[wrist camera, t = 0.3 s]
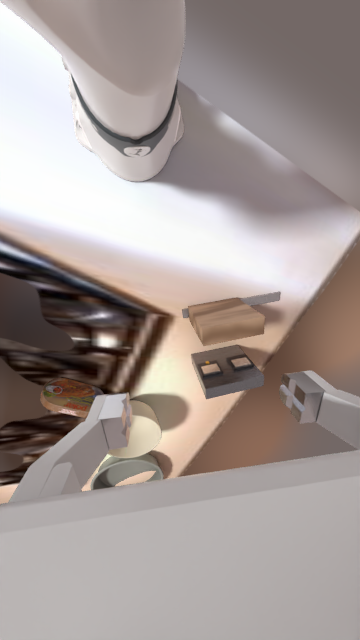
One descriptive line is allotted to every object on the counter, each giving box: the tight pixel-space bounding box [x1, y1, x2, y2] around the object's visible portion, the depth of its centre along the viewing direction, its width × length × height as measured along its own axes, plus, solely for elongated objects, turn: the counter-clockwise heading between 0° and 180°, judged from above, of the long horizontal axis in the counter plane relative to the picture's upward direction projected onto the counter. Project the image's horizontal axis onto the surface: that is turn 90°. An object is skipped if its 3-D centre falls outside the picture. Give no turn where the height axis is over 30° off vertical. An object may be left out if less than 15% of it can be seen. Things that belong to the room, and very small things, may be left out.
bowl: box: [107, 400, 162, 458], centre depth 55 cm, size 16×16×10 cm
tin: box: [41, 378, 104, 418], centre depth 50 cm, size 15×3×8 cm, turn 59°
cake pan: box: [91, 453, 163, 490], centre depth 70 cm, size 25×25×4 cm
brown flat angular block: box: [188, 298, 265, 346], centre depth 45 cm, size 4×13×13 cm, turn 97°
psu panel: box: [182, 292, 280, 399], centre depth 49 cm, size 17×27×14 cm, turn 97°
